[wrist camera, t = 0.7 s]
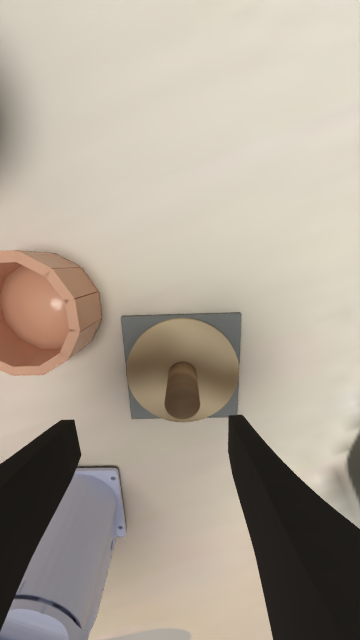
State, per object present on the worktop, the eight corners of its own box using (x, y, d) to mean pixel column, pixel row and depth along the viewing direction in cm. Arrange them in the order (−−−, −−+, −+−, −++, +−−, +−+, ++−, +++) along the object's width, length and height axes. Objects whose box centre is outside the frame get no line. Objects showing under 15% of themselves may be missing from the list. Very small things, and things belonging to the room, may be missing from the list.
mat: (236, 414, 20) (237, 417, 20) (132, 416, 21) (131, 418, 20) (240, 312, 18) (241, 313, 18) (122, 315, 18) (120, 316, 18)
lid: (235, 415, 20) (250, 460, 15) (133, 416, 20) (118, 462, 16) (238, 315, 18) (258, 334, 13) (123, 319, 18) (102, 338, 13)
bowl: (106, 351, 19) (86, 373, 15) (13, 354, 19) (-30, 376, 15) (93, 252, 17) (66, 248, 13) (-12, 255, 17) (-68, 253, 13)
